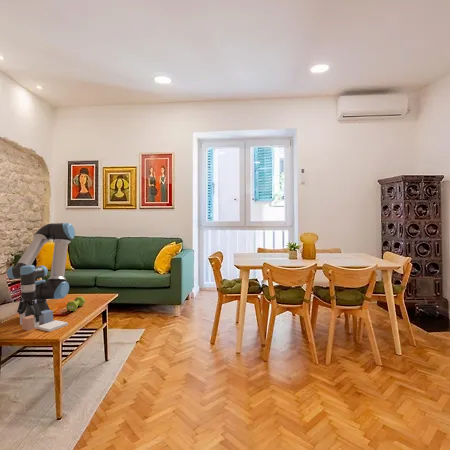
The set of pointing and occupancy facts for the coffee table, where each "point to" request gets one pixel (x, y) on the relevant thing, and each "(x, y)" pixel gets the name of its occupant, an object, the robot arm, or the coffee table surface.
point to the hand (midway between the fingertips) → (29, 326)
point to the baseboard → (52, 325)
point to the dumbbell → (75, 303)
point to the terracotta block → (28, 323)
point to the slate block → (46, 316)
